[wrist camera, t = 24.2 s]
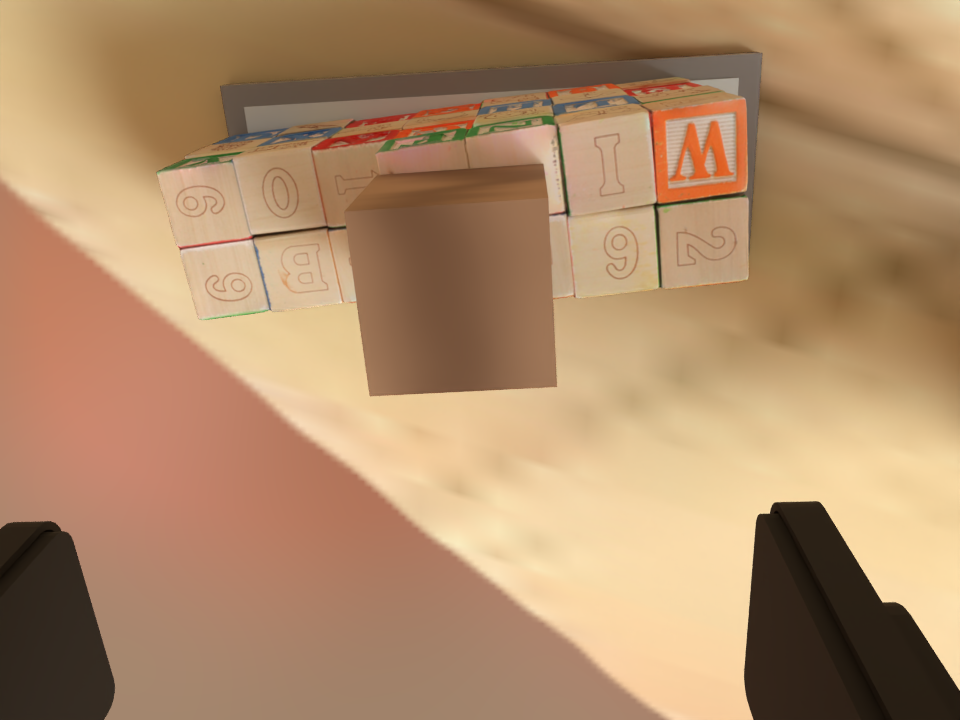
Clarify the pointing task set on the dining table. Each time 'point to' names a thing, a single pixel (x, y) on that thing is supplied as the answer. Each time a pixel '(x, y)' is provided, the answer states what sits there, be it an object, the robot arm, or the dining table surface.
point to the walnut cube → (454, 280)
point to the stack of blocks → (465, 145)
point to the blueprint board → (477, 92)
